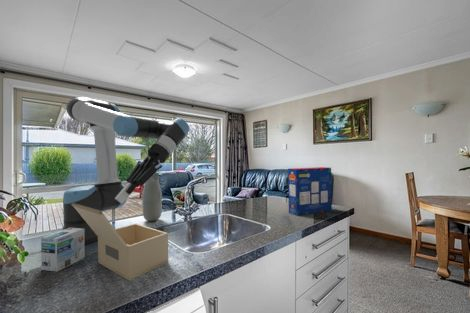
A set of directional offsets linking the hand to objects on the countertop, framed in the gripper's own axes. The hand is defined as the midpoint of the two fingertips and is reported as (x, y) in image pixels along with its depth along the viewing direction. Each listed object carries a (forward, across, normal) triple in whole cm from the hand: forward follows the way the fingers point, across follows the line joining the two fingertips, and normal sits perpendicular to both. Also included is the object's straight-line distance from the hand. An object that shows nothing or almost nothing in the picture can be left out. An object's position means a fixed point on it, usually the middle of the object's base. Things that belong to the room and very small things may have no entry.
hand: (118, 200), depth 73 cm
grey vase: (-11, +40, -43) cm, 60 cm away
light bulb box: (+23, +20, -9) cm, 31 cm away
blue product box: (-59, -26, -93) cm, 113 cm away
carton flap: (+8, +1, 0) cm, 8 cm away
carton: (+12, +1, -19) cm, 23 cm away
